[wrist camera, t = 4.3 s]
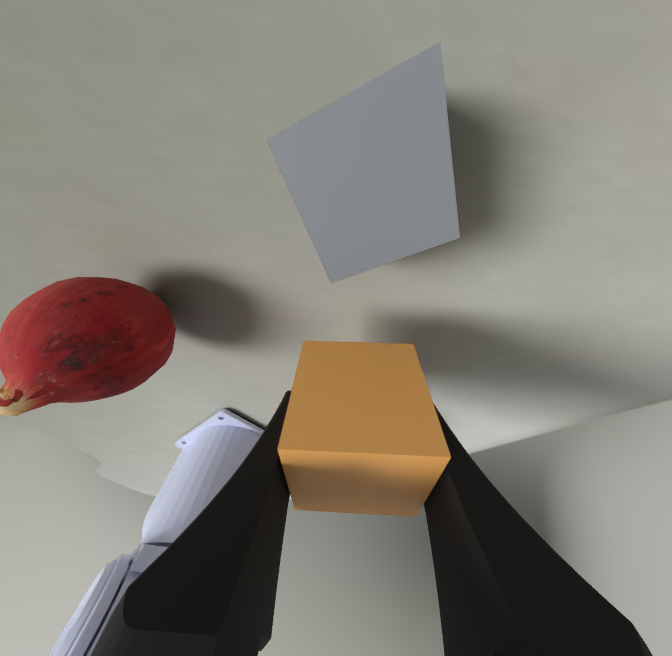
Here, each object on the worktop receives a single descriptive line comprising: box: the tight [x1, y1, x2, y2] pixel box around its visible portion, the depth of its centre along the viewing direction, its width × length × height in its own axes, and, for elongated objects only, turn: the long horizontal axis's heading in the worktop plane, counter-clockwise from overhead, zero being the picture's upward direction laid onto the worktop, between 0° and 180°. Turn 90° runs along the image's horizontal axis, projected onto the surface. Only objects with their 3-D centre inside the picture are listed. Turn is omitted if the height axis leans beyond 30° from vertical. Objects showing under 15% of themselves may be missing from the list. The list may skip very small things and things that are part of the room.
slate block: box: [267, 42, 460, 283], centre depth 9 cm, size 4×4×4 cm
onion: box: [0, 277, 176, 416], centre depth 12 cm, size 6×6×8 cm
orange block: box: [278, 341, 451, 517], centre depth 10 cm, size 5×5×5 cm
